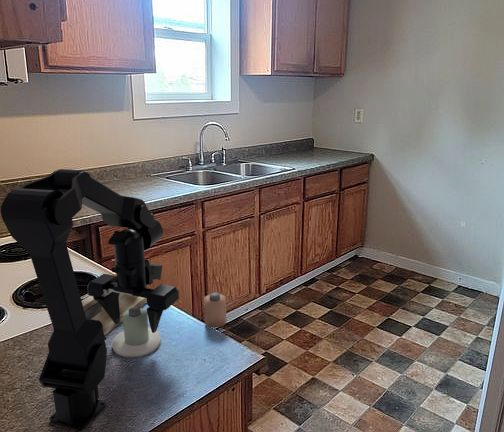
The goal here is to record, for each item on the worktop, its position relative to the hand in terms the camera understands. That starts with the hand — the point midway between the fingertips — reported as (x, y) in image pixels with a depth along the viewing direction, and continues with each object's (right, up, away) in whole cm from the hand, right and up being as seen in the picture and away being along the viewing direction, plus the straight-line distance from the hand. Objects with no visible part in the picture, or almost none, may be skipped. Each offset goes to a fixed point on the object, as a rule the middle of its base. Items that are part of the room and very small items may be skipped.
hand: (135, 327), depth 92 cm
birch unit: (-8, -1, +10) cm, 13 cm away
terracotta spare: (+16, -1, +10) cm, 19 cm away
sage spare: (0, -3, +1) cm, 3 cm away
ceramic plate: (0, -4, +1) cm, 4 cm away
